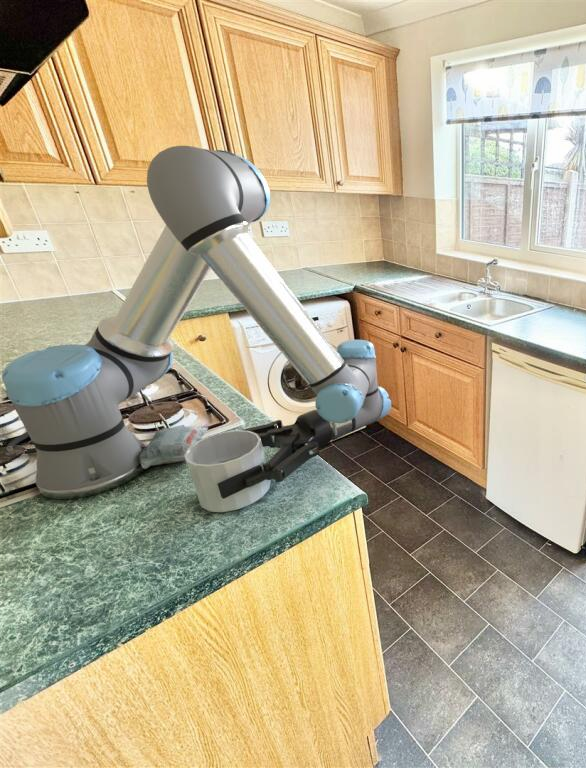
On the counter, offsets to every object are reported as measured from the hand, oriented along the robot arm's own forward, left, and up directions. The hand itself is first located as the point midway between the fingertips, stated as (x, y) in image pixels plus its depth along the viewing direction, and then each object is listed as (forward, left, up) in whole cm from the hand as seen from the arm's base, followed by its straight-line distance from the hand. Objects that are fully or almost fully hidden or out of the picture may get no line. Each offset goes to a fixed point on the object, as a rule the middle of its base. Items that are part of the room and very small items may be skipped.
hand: (203, 477), depth 70 cm
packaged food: (-16, +13, -6) cm, 22 cm away
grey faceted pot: (+2, +3, -6) cm, 7 cm away
